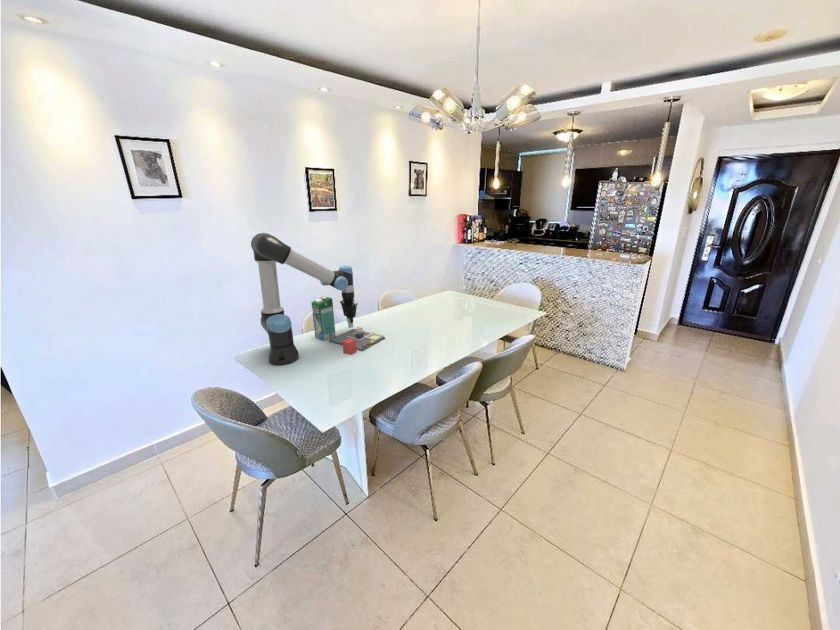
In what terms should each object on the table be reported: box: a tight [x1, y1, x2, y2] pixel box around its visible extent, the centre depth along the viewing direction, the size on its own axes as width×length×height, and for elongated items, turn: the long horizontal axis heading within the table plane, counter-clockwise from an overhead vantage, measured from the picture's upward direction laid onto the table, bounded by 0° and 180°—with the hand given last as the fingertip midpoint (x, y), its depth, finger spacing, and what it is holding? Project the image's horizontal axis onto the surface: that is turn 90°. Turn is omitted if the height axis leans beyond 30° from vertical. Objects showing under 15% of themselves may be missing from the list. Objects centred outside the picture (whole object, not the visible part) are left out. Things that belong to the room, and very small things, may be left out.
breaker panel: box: [328, 328, 386, 352], centre depth 205 cm, size 26×21×5 cm
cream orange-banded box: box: [354, 326, 364, 333], centre depth 212 cm, size 3×4×4 cm
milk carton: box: [310, 295, 337, 342], centre depth 206 cm, size 9×9×25 cm
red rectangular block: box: [342, 338, 357, 356], centre depth 189 cm, size 5×5×7 cm
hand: (350, 327), depth 215 cm, fingers closed
